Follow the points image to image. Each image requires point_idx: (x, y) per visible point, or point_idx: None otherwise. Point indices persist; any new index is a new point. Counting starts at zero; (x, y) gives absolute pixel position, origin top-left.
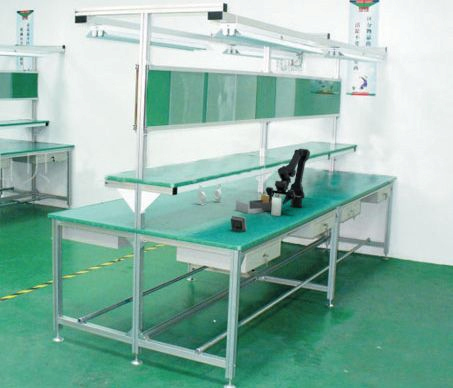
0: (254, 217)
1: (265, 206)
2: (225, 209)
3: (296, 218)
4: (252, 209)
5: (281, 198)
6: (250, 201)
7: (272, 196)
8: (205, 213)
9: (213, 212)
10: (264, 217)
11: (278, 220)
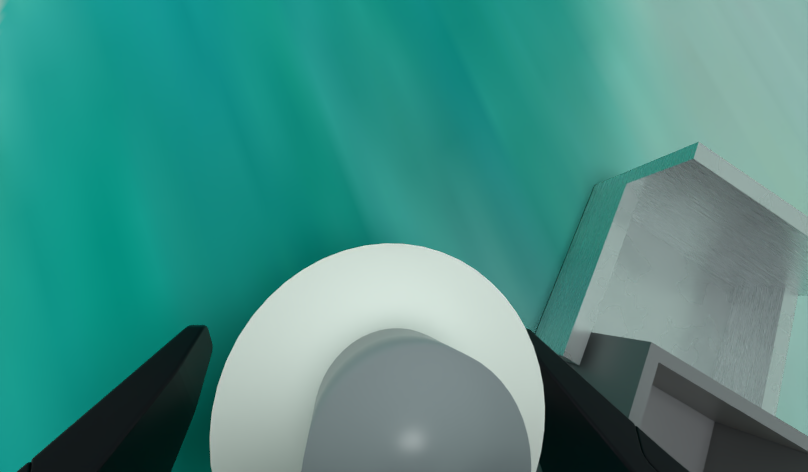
0: (477, 65)
1: None
2: None
3: (23, 281)
4: (609, 220)
5: (217, 420)
6: (803, 435)
7: None
8: (782, 23)
9: (775, 80)
10: (404, 112)
11: (221, 48)
